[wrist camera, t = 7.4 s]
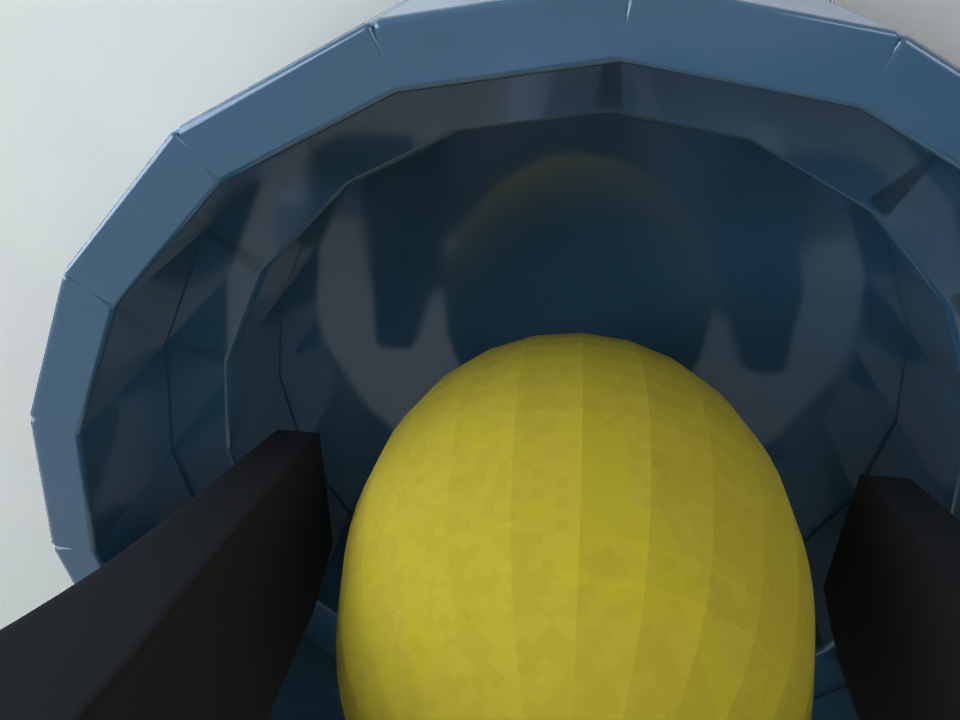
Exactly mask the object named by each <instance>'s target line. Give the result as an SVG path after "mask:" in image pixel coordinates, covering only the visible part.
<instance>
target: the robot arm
mask: <svg viewBox="0 0 960 720" xmlns="http://www.w3.org/2000/svg"><path fill="white" fill-rule="evenodd" d="M332 545H333V537H332V529H331V521H330V513H329V505H328V497H327V489H326V481H325V473H324V464H323V456H322V448H321V440H320V433H314V432H301V431H288V430H276V431H275V432H274V433H272V434H271V435H270V436H268V437H267V438H266V439H265V440H263V441H262V442H261V443H260V444H258V445H257V446H256V447H255V448H254V449H252V450H251V451H250V452H249V453H248V454H246V455H245V456H244V457H243V458H241V459H240V460H239V461H238V462H237V463H235V464H234V465H233V466H232V467H231V468H229V469H228V470H227V471H226V472H224V473H223V474H222V475H221V476H220V477H218V478H217V479H216V480H215V481H214V482H212V483H211V484H210V485H209V486H207V487H206V488H205V489H203V490H202V491H201V492H200V493H198V494H197V495H196V496H195V497H193V498H192V499H191V500H190V501H188V502H187V503H186V504H185V505H183V506H182V507H181V508H180V509H178V510H177V511H176V512H175V513H173V514H172V515H171V516H170V517H168V518H167V519H166V520H164V521H163V522H162V523H160V524H159V525H157V526H156V527H155V528H153V529H152V530H151V531H149V532H148V533H146V534H145V535H144V536H142V537H141V538H140V539H138V540H137V541H135V542H134V543H133V544H131V545H130V546H129V547H127V548H126V549H124V550H123V551H122V552H120V553H119V554H118V555H116V556H115V557H113V558H112V559H111V560H109V561H108V562H106V563H105V564H104V565H102V566H101V567H100V568H98V569H97V570H95V571H94V572H92V573H91V574H89V575H88V576H86V577H85V578H83V579H82V580H80V581H79V582H77V583H76V584H74V585H73V586H71V587H70V588H68V589H66V590H65V591H63V592H62V593H60V594H59V595H57V596H56V597H54V598H52V599H51V600H49V601H47V602H46V603H44V604H42V605H41V606H39V607H38V608H36V609H34V610H33V611H31V612H29V613H28V614H26V615H25V616H23V617H21V618H20V619H18V620H16V621H15V622H13V623H11V624H10V625H8V626H6V627H4V628H3V629H1V630H0V720H268V718H269V716H270V714H271V711H272V709H273V707H274V704H275V702H276V699H277V697H278V695H279V692H280V690H281V688H282V685H283V683H284V681H285V678H286V676H287V674H288V671H289V669H290V667H291V664H292V662H293V659H294V657H295V655H296V652H297V650H298V647H299V645H300V643H301V640H302V638H303V635H304V633H305V631H306V628H307V626H308V623H309V621H310V618H311V616H312V614H313V611H314V609H315V605H316V602H317V599H318V595H319V592H320V588H321V585H322V582H323V578H324V574H325V571H326V567H327V563H328V560H329V556H330V552H331V548H332ZM823 589H824V595H825V600H826V605H827V610H828V615H829V620H830V625H831V630H832V635H833V639H834V644H835V648H836V652H837V657H838V661H839V664H840V667H841V670H842V673H843V676H844V679H845V682H846V685H847V688H848V691H849V693H850V696H851V699H852V702H853V705H854V708H855V711H856V714H857V717H858V720H960V521H959V520H958V519H957V518H956V517H955V516H954V515H953V514H951V513H950V512H949V511H948V510H947V509H946V508H945V507H943V506H942V505H941V504H940V503H939V502H938V501H936V500H935V499H934V498H933V497H932V496H931V495H929V494H928V493H927V492H926V491H925V490H924V489H922V488H921V487H920V486H919V485H917V484H916V483H915V482H914V481H912V480H911V479H910V478H900V477H887V476H874V475H861V474H860V476H859V479H858V482H857V485H856V488H855V492H854V495H853V498H852V501H851V504H850V507H849V510H848V513H847V516H846V519H845V522H844V525H843V528H842V531H841V534H840V537H839V540H838V543H837V546H836V549H835V552H834V555H833V558H832V561H831V564H830V567H829V570H828V573H827V576H826V579H825V582H824V585H823Z"/></svg>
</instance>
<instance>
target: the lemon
mask: <svg viewBox="0 0 960 720" xmlns="http://www.w3.org/2000/svg"><path fill="white" fill-rule="evenodd" d="M336 665H337V678H338V685H339V691H340V698H341V704H342V708H343V712H344V716H345V720H811V718H812V706H813V694H814V669H815V608H814V595H813V586H812V579H811V573H810V567H809V562H808V558H807V554H806V550H805V546H804V542H803V539H802V536H801V533H800V530H799V528H798V525H797V522H796V519H795V516H794V514H793V511H792V508H791V505H790V502H789V500H788V497H787V494H786V491H785V489H784V486H783V484H782V481H781V478H780V476H779V473H778V472H777V470H776V468H775V466H774V464H773V462H772V460H771V458H770V456H769V455H768V453H767V452H766V450H765V449H764V447H763V446H762V445H761V443H760V442H759V440H758V439H757V438H756V436H755V435H754V434H753V433H752V431H751V430H750V429H749V427H748V426H747V425H746V424H745V422H744V421H743V420H742V419H741V417H740V416H739V415H738V414H737V412H736V411H735V410H734V408H733V407H732V406H731V405H730V403H729V402H728V401H727V400H726V399H725V398H724V397H723V396H722V395H721V394H720V393H719V392H718V391H717V390H715V389H714V388H713V387H711V386H710V385H709V384H707V383H706V382H704V381H703V380H702V379H700V378H699V377H698V376H696V375H695V374H694V373H692V372H691V371H689V370H688V369H687V368H685V367H684V366H683V365H681V364H680V363H678V362H677V361H675V360H674V359H672V358H671V357H668V356H666V355H663V354H661V353H659V352H656V351H654V350H651V349H649V348H646V347H644V346H641V345H639V344H637V343H634V342H632V341H629V340H624V339H618V338H612V337H605V336H599V335H593V334H586V333H568V334H551V335H535V336H531V337H528V338H524V339H521V340H517V341H514V342H510V343H507V344H503V345H500V346H497V347H493V348H490V349H489V350H487V351H485V352H484V353H482V354H480V355H478V356H477V357H475V358H473V359H472V360H470V361H468V362H466V363H465V364H463V365H461V366H460V367H458V368H456V369H455V370H453V371H451V372H450V373H448V374H447V375H445V376H444V377H443V378H442V379H441V380H440V381H439V382H438V383H437V384H436V385H435V386H434V387H433V388H432V389H431V390H430V391H429V392H428V393H427V394H426V395H425V396H424V397H423V398H422V399H421V400H420V401H419V402H418V403H417V404H416V405H415V406H414V407H413V408H412V409H411V410H410V411H409V412H408V413H407V414H406V415H405V416H404V417H403V419H402V420H401V421H400V423H399V424H398V425H397V427H396V428H395V430H394V431H393V433H392V434H391V436H390V438H389V440H388V441H387V443H386V445H385V447H384V449H383V451H382V453H381V455H380V456H379V458H378V460H377V462H376V464H375V466H374V468H373V470H372V472H371V474H370V476H369V478H368V480H367V482H366V484H365V486H364V488H363V490H362V493H361V495H360V497H359V500H358V502H357V505H356V508H355V511H354V514H353V518H352V521H351V524H350V528H349V533H348V538H347V543H346V548H345V554H344V563H343V571H342V579H341V587H340V596H339V604H338V613H337V629H336Z"/></svg>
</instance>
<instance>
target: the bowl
mask: <svg viewBox="0 0 960 720" xmlns="http://www.w3.org/2000/svg"><path fill="white" fill-rule="evenodd" d="M568 333H586V334H593V335H599V336H605V337H612V338H618V339H624V340H629V341H632V342H634V343H637V344H639V345H641V346H644V347H646V348H649V349H651V350H654V351H656V352H659V353H661V354H663V355H666V356H668V357H671V358H672V359H674V360H675V361H677V362H678V363H680V364H681V365H683V366H684V367H685V368H687V369H688V370H689V371H691V372H692V373H694V374H695V375H696V376H698V377H699V378H700V379H702V380H703V381H704V382H706V383H707V384H709V385H710V386H711V387H713V388H714V389H715V390H717V391H718V392H719V393H720V394H721V395H722V396H723V397H724V398H725V399H726V400H727V401H728V402H729V403H730V405H731V406H732V407H733V408H734V410H735V411H736V412H737V414H738V415H739V416H740V417H741V419H742V420H743V421H744V422H745V424H746V425H747V426H748V427H749V429H750V430H751V431H752V433H753V434H754V435H755V436H756V438H757V439H758V440H759V442H760V443H761V445H762V446H763V447H764V449H765V450H766V452H767V453H768V455H769V456H770V458H771V460H772V462H773V464H774V466H775V468H776V470H777V472H778V473H779V476H780V478H781V481H782V484H783V486H784V489H785V491H786V494H787V497H788V500H789V502H790V505H791V508H792V511H793V514H794V516H795V519H796V522H797V525H798V528H799V530H800V533H801V536H802V539H803V542H804V546H805V550H806V554H807V558H808V562H809V567H810V573H811V579H812V586H813V595H814V608H815V669H814V694H813V706H812V718H811V720H858V717H857V714H856V711H855V708H854V705H853V702H852V699H851V696H850V693H849V691H848V688H847V685H846V682H845V679H844V676H843V673H842V670H841V667H840V664H839V661H838V657H837V652H836V648H835V644H834V639H833V635H832V630H831V625H830V620H829V615H828V610H827V605H826V600H825V595H824V589H823V585H824V582H825V579H826V576H827V573H828V570H829V567H830V564H831V561H832V558H833V555H834V552H835V549H836V546H837V543H838V540H839V537H840V534H841V531H842V528H843V525H844V522H845V519H846V516H847V513H848V510H849V507H850V504H851V501H852V498H853V495H854V492H855V488H856V485H857V482H858V479H859V476H860V474H861V475H874V476H887V477H900V478H910V479H911V480H912V481H914V482H915V483H916V484H917V485H919V486H920V487H921V488H922V489H924V490H925V491H926V492H927V493H928V494H929V495H931V496H932V497H933V498H934V499H935V500H936V501H938V502H939V503H940V504H941V505H942V506H943V507H945V508H946V509H947V510H948V511H949V512H950V513H951V514H953V515H954V516H955V517H956V518H957V519H958V520H959V521H960V68H958V67H957V66H955V65H954V64H952V63H950V62H949V61H947V60H946V59H944V58H943V57H941V56H939V55H938V54H936V53H935V52H933V51H932V50H930V49H928V48H927V47H925V46H924V45H922V44H920V43H919V42H917V41H916V40H914V39H913V38H911V37H909V36H908V35H905V34H903V33H901V32H898V31H896V30H894V29H891V28H889V27H887V26H884V25H882V24H879V23H877V22H875V21H872V20H870V19H868V18H865V17H863V16H861V15H858V14H856V13H854V12H851V11H849V10H847V9H844V8H842V7H840V6H837V5H835V4H832V3H830V2H829V1H826V0H404V1H402V2H400V3H398V4H396V5H395V6H393V7H391V8H389V9H387V10H386V11H384V12H382V13H380V14H379V15H377V16H375V17H373V18H371V19H370V20H368V21H366V22H364V23H362V24H361V25H359V26H357V27H355V28H354V29H352V30H350V31H348V32H346V33H345V34H343V35H341V36H339V37H338V38H336V39H334V40H332V41H330V42H329V43H327V44H325V45H323V46H321V47H320V48H318V49H316V50H314V51H313V52H311V53H309V54H307V55H305V56H304V57H302V58H300V59H298V60H297V61H295V62H293V63H291V64H289V65H288V66H286V67H284V68H282V69H281V70H279V71H277V72H275V73H273V74H272V75H270V76H268V77H266V78H264V79H263V80H261V81H259V82H257V83H256V84H254V85H252V86H250V87H248V88H247V89H245V90H243V91H241V92H240V93H238V94H236V95H234V96H232V97H231V98H229V99H227V100H225V101H224V102H222V103H220V104H218V105H216V106H215V107H213V108H211V109H209V110H207V111H206V112H204V113H202V114H200V115H199V116H197V117H195V118H193V119H191V120H190V121H188V122H186V123H184V124H183V125H181V126H180V128H179V129H178V130H176V131H174V132H172V133H171V134H170V135H169V137H168V138H167V139H166V140H165V142H164V143H163V144H162V146H161V147H160V148H159V149H158V151H157V152H156V153H155V155H154V156H153V157H152V158H151V160H150V161H149V162H148V164H147V165H146V166H145V167H144V169H143V170H142V171H141V173H140V174H139V175H138V176H137V178H136V179H135V180H134V182H133V183H132V184H131V185H130V187H129V188H128V189H127V191H126V192H125V193H124V194H123V196H122V197H121V198H120V200H119V201H118V202H117V203H116V205H115V206H114V207H113V209H112V210H111V211H110V212H109V214H108V215H107V216H106V218H105V219H104V220H103V221H102V223H101V224H100V225H99V227H98V228H97V229H96V230H95V232H94V233H93V234H92V236H91V237H90V238H89V239H88V241H87V242H86V243H85V245H84V246H83V247H82V248H81V250H80V251H79V252H78V254H77V255H76V256H75V257H74V259H73V260H72V261H71V263H70V264H69V265H68V266H67V268H66V270H65V274H64V275H63V278H62V282H61V287H60V291H59V295H58V299H57V304H56V308H55V312H54V316H53V320H52V325H51V329H50V333H49V337H48V342H47V346H46V350H45V354H44V359H43V363H42V367H41V371H40V375H39V380H38V384H37V388H36V392H35V397H34V401H33V405H32V409H31V416H32V420H31V425H32V431H33V437H34V442H35V448H36V453H37V459H38V465H39V470H40V476H41V482H42V487H43V493H44V499H45V504H46V510H47V515H48V521H49V527H50V532H51V538H52V543H53V544H54V545H55V551H56V553H57V554H58V556H59V558H60V560H61V561H62V563H63V565H64V567H65V569H66V570H67V572H68V574H69V576H70V577H71V579H72V581H73V583H74V584H76V583H77V582H79V581H80V580H82V579H83V578H85V577H86V576H88V575H89V574H91V573H92V572H94V571H95V570H97V569H98V568H100V567H101V566H102V565H104V564H105V563H106V562H108V561H109V560H111V559H112V558H113V557H115V556H116V555H118V554H119V553H120V552H122V551H123V550H124V549H126V548H127V547H129V546H130V545H131V544H133V543H134V542H135V541H137V540H138V539H140V538H141V537H142V536H144V535H145V534H146V533H148V532H149V531H151V530H152V529H153V528H155V527H156V526H157V525H159V524H160V523H162V522H163V521H164V520H166V519H167V518H168V517H170V516H171V515H172V514H173V513H175V512H176V511H177V510H178V509H180V508H181V507H182V506H183V505H185V504H186V503H187V502H188V501H190V500H191V499H192V498H193V497H195V496H196V495H197V494H198V493H200V492H201V491H202V490H203V489H205V488H206V487H207V486H209V485H210V484H211V483H212V482H214V481H215V480H216V479H217V478H218V477H220V476H221V475H222V474H223V473H224V472H226V471H227V470H228V469H229V468H231V467H232V466H233V465H234V464H235V463H237V462H238V461H239V460H240V459H241V458H243V457H244V456H245V455H246V454H248V453H249V452H250V451H251V450H252V449H254V448H255V447H256V446H257V445H258V444H260V443H261V442H262V441H263V440H265V439H266V438H267V437H268V436H270V435H271V434H272V433H274V432H275V431H276V430H288V431H301V432H314V433H320V440H321V448H322V456H323V464H324V473H325V481H326V489H327V497H328V505H329V513H330V521H331V529H332V537H333V545H332V548H331V552H330V556H329V560H328V563H327V567H326V571H325V574H324V578H323V582H322V585H321V588H320V592H319V595H318V599H317V602H316V605H315V609H314V611H313V614H312V616H311V618H310V621H309V623H308V626H307V628H306V631H305V633H304V635H303V638H302V640H301V643H300V645H299V647H298V650H297V652H296V655H295V657H294V659H293V662H292V664H291V667H290V669H289V671H288V674H287V676H286V678H285V681H284V683H283V685H282V688H281V690H280V692H279V695H278V697H277V699H276V702H275V704H274V707H273V709H272V711H271V714H270V716H269V718H268V720H345V716H344V712H343V708H342V704H341V698H340V691H339V685H338V678H337V665H336V629H337V613H338V604H339V596H340V587H341V579H342V571H343V563H344V554H345V548H346V543H347V538H348V533H349V528H350V524H351V521H352V518H353V514H354V511H355V508H356V505H357V502H358V500H359V497H360V495H361V493H362V490H363V488H364V486H365V484H366V482H367V480H368V478H369V476H370V474H371V472H372V470H373V468H374V466H375V464H376V462H377V460H378V458H379V456H380V455H381V453H382V451H383V449H384V447H385V445H386V443H387V441H388V440H389V438H390V436H391V434H392V433H393V431H394V430H395V428H396V427H397V425H398V424H399V423H400V421H401V420H402V419H403V417H404V416H405V415H406V414H407V413H408V412H409V411H410V410H411V409H412V408H413V407H414V406H415V405H416V404H417V403H418V402H419V401H420V400H421V399H422V398H423V397H424V396H425V395H426V394H427V393H428V392H429V391H430V390H431V389H432V388H433V387H434V386H435V385H436V384H437V383H438V382H439V381H440V380H441V379H442V378H443V377H444V376H445V375H447V374H448V373H450V372H451V371H453V370H455V369H456V368H458V367H460V366H461V365H463V364H465V363H466V362H468V361H470V360H472V359H473V358H475V357H477V356H478V355H480V354H482V353H484V352H485V351H487V350H489V349H490V348H493V347H497V346H500V345H503V344H507V343H510V342H514V341H517V340H521V339H524V338H528V337H531V336H535V335H551V334H568Z"/></svg>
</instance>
